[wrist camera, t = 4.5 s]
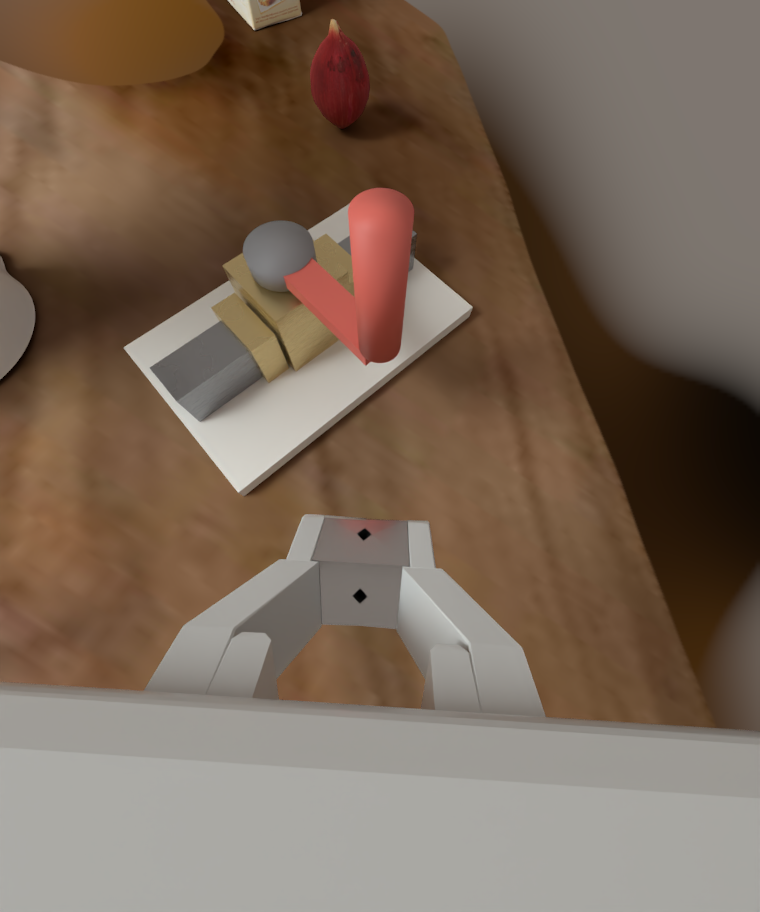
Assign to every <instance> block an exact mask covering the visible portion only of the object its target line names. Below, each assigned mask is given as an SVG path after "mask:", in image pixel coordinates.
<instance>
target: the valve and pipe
mask: <svg viewBox="0 0 760 912" xmlns="http://www.w3.org/2000/svg"><path fill="white" fill-rule="evenodd" d="M416 239H417V233H415V232H414V231H413V230H412V240H411V250H410V260H409V270H408V272H409V271H410V270H412V269H413V265H414V256H415V247H416ZM313 243H314V248H315V254H316V259H317V263H318V264H319V265H320V266H321V267H322V268H323V269H324V270H326V271H327V272H328V273H329V274H330V275H331V276H332V277H333V278H334V279H335V280H336V281H337V282H338V283H340V284H341V285H342V286H343V287H344V288H345V289H346V290H347V291H348V292H349V293H350V294H351V295H352V296H354V297H355V294H354V282H353V269H352V257H351V245H350V236H348V237H347V238H345V239H344V240H342V241H340V242H339V243H336V242H335V241H334V240H333V239H332V238H331V237H329V236H328V235H327V234H324V235H323V236H321V237H320V238H318V239H316V240H315V241H314V240H313ZM222 267H223V269H224V271H225V273H226V275H227V277H228V279H229V281H230V283H231V285H232V287H233V289H234V291H235V293H233V294H231V295H230V296H228V297H227V298H225V299H224V300H222V301H221V302H219V303H218V304H216V305H214V306H213V307H211V309H212V310H213V312H214V314H215V315H216V317H217V318H218V320H219V322H218V323H216V324H215V325H213V326H212V327H210V328H209V329H207V330H206V331H204V332H203V333H201V334H200V335H198V336H197V337H195V338H194V339H192V340H191V341H189V342H188V343H186V344H184V345H183V346H181V347H180V348H178V349H177V350H175V351H174V352H172V353H171V354H169V355H168V356H166V357H165V358H163V359H162V360H160V361H159V362H157V363H156V364H154V365H153V366H151V367H150V369H151V370H152V372H153V373H154V374H155V375H156V377H157V378H158V379H159V380H160V382H161V383H162V384H163V385H164V387H165V388H166V389H167V390H168V392H169V393H170V394H171V395H172V397H173V398H174V399H175V400H176V401H177V402H178V403H179V404H180V405H181V406H182V407H183V408H185V409H186V410H187V411H188V412H189V413H190V414H191V415H193V416H194V417H195V418H196V419H197V420H198V421H199V422H201V421H202V420H204V419H205V418H206V417H208V416H209V415H211V414H212V413H213V412H215V411H216V410H218V409H219V408H220V407H222V406H223V405H224V404H226V403H227V402H229V401H230V400H231V399H233V398H234V397H236V396H237V395H238V394H240V393H241V392H242V391H244V390H245V389H247V388H248V387H249V386H251V385H252V384H254V383H255V382H256V381H258V380H259V379H260V378H262V377H264V378H265V380H266V381H267V382H268V383H270V382H271V381H272V380H274V379H275V378H277V377H278V376H279V375H281V374H282V373H283V372H285V371H286V370H288V369H289V367H288V364H289V365H290V366H291V367H292V368H293V369H294V370H295V371H298V370H299V369H300V368H302V367H303V366H304V365H306V364H307V363H309V362H310V361H311V360H313V359H314V358H315V357H317V356H318V355H319V354H321V353H322V352H323V351H325V350H326V349H328V348H329V347H330V346H332V345H333V344H334V343H336V342H337V341H338V340H339V339H338V338H337V337H336V336H335V335H334V334H333V333H332V332H331V331H330V330H329V329H328V328H327V327H326V326H325V325H324V324H323V323H322V322H321V321H320V320H319V319H318V318H317V317H316V316H315V315H314V314H313V313H312V312H311V311H310V310H309V309H308V308H307V307H306V306H305V305H304V304H303V303H302V302H301V301H300V300H299V299H298V298H297V297H295V296H294V295H293V294H292V293H291V292H290V291H286V292H277V291H271V290H268V289H265V288H263V287H262V286H260V285H259V284H258V283H257V282H256V281H255V280H254V279H253V277H252V274H251V272H250V270H249V267H248V265H247V262H246V260H245V258H244V255H243V253H241V254H240V255H238V256H237V257H235V258H233V259H232V260H230V261H229V262H227V263H225V264H224V265H222ZM287 363H288V364H287Z"/></svg>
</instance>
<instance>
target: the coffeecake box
mask: <svg viewBox="0 0 760 912" xmlns="http://www.w3.org/2000/svg"><path fill="white" fill-rule="evenodd" d="M228 2H229V3H230V4H231V5H232V6H233V7H234V8H235V9H236V11H237V12H238V13H239V14H240V15H241V16H242V17H243V18H244V19H245V20H246V22H247V23H248V24H249V25H250V26H251V27H252V28H253V30H258V29H261V28H263V27H266V26H269V25H273V24H276V23H280V22H283V21H287V20H290V19H293V18H296V17H299V16H302V12H301V6H300V0H228Z"/></svg>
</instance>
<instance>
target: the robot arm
mask: <svg viewBox="0 0 760 912" xmlns="http://www.w3.org/2000/svg"><path fill="white" fill-rule="evenodd" d="M34 325H35V308H34V304H33V300H32V298H31V296H30V294H29V292H28V291H27V290H26V288H25V287H24V286H23V285H22V284H21V283H20V282H18V281H17V280H16V279H14V278H13V277H12V276H11V275H9V274H8V272H7V271H6V269H5V265H4V262H3V260H2V257H1V256H0V379H1V378H3V377H4V376H5V375H6V374H7V373H8V372H9V371H10V370H11V369H12V367H13V366H14V365H15V364H16V363H17V361H18V360H19V359H20V357H21V356H22V354H23V353H24V351H25V349H26V347H27V346H28V343H29V341H30V339H31V336H32V333H33V330H34ZM321 624H327V625H357V626H369V627H380V628H391V629H397V632H398V634H399V636H400V637H401V639H402V641H403V642H404V644H405V646H406V647H407V649H408V651H409V653H410V654H411V656H412V658H413V659H414V661H415V663H416V664H417V666H418V668H419V669H420V671H421V673H422V675H423V676H424V678H425V686H424V692H423V698H422V705H421V709H412V708H396V707H381V706H366V705H351V704H336V703H321V702H305V701H290V700H279V697H278V689H277V682H276V679H277V678H278V677H279V676H280V674H281V673H282V672H283V671H284V670H285V669H286V667H287V666H288V665H289V664H290V663H291V662H292V660H293V659H294V658H295V657H296V656H297V655H298V653H299V652H300V651H301V650H302V649H303V648H304V646H305V645H306V644H307V643H308V642H309V640H310V639H311V638H312V637H313V636H314V635H315V633H316V632H317V631H318V630H319V629H320V628H321ZM0 912H760V731H752V730H737V729H721V728H706V727H691V726H676V725H660V724H645V723H630V722H615V721H599V720H584V719H569V718H553V717H546V716H545V713H544V710H543V707H542V704H541V701H540V698H539V696H538V693H537V690H536V687H535V684H534V681H533V678H532V675H531V672H530V669H529V666H528V663H527V660H526V657H525V654H524V651H523V648H522V647H521V646H520V645H519V644H518V643H517V642H516V641H515V640H514V639H513V638H512V637H511V636H510V635H509V634H508V633H507V632H506V631H505V630H504V629H503V628H502V627H501V626H500V625H499V624H498V623H497V622H496V621H495V620H494V619H493V618H492V617H490V616H489V615H488V614H487V613H486V612H485V611H484V610H483V609H482V608H481V607H480V606H479V605H478V604H477V603H476V602H475V601H474V600H473V599H472V598H471V597H470V596H469V595H468V594H467V593H466V592H465V591H464V590H463V589H462V588H461V587H460V586H459V585H458V584H457V583H456V582H455V581H454V580H453V579H452V578H451V577H450V576H449V575H448V574H447V573H446V572H445V571H444V570H443V569H436V566H435V559H434V552H433V545H432V538H431V531H430V524H429V522H428V521H417V520H407V521H399V520H380V519H367V518H355V517H342V516H329V515H326V516H325V515H314V514H305V515H304V516H303V517H302V519H301V522H300V525H299V527H298V530H297V532H296V535H295V538H294V540H293V543H292V545H291V548H290V551H289V553H288V556H287V558H286V560H285V559H279V560H278V561H276V562H275V563H274V564H272V565H271V566H269V567H268V568H266V569H265V570H263V571H262V572H260V573H259V574H258V575H256V576H255V577H253V578H252V579H250V580H249V581H247V582H246V583H245V584H243V585H242V586H240V587H239V588H237V589H236V590H234V591H233V592H231V593H230V594H229V595H227V596H226V597H224V598H223V599H221V600H220V601H218V602H217V603H216V604H214V605H213V606H211V607H210V608H208V609H207V610H205V611H204V612H202V613H201V614H200V615H198V616H197V617H195V618H194V619H192V620H191V621H189V622H188V623H187V624H185V625H184V626H183V627H182V629H181V630H180V632H179V634H178V635H177V637H176V638H175V640H174V642H173V643H172V645H171V647H170V648H169V650H168V652H167V653H166V655H165V657H164V658H163V660H162V662H161V663H160V665H159V666H158V668H157V670H156V671H155V673H154V675H153V676H152V678H151V680H150V681H149V683H148V685H147V686H146V688H145V689H144V691H137V690H122V689H107V688H91V687H76V686H61V685H45V684H30V683H15V682H0Z"/></svg>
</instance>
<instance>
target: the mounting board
mask: <svg viewBox="0 0 760 912" xmlns="http://www.w3.org/2000/svg"><path fill="white" fill-rule="evenodd" d="M349 205H350V204H348V205H347V206H345V207H344V208H342V209H341V210H339V211H337V212H336V213H334V214H333V215H331V216H330V217H328V218H326V219H325V220H323V221H322V222H320V223H319V224H317V225H315V226H314V227H312V228H311V229H309V230H308V232H309V233H310V235H311V237H312V239H313V240H314V241H315V240H316V239H318V238H320V237H321V236H323V235H324V234H327V235H328V236H329V237H331V238H332V239H333V240H334V241H335V242H336V243H339V242H340V241H342V240H344V239H345V238H347V237H348V236H350V232H349V220H348V208H349ZM233 293H235V291H234V289H233V287H232V285H231V283H230V281H227V282H226V283H224V284H223V285H221V286H219V287H218V288H216V289H215V290H213V291H212V292H210V293H208V294H207V295H205V296H204V297H202V298H201V299H199V300H197V301H196V302H194V303H193V304H191V305H190V306H188V307H186V308H185V309H183V310H182V311H180V312H179V313H177V314H175V315H174V316H172V317H171V318H169V319H168V320H166V321H164V322H163V323H161V324H160V325H158V326H157V327H155V328H153V329H152V330H150V331H149V332H147V333H145V334H144V335H142V336H141V337H139V338H138V339H136V340H134V341H133V342H131V343H130V344H128V345H127V346H125V347H123V348H124V349H125V350H126V352H127V353H128V354H129V356H130V357H131V358H132V359H133V361H134V362H135V363H136V364H137V366H138V367H139V368H140V369H141V371H142V372H143V373H144V374H145V376H146V377H147V378H148V379H149V381H150V382H151V383H152V385H153V386H154V387H155V388H156V390H157V391H158V392H159V393H160V395H161V396H162V397H163V398H164V400H165V401H166V402H167V403H168V405H169V406H170V407H171V408H172V410H173V411H174V412H175V414H176V415H177V416H178V417H179V419H180V420H181V421H182V422H183V424H184V425H185V426H186V427H187V429H188V430H189V431H190V432H191V434H192V435H193V436H194V437H195V439H196V440H197V441H198V443H199V444H200V445H201V446H202V448H203V449H204V450H205V451H206V453H207V454H208V455H209V456H210V458H211V459H212V460H213V461H214V463H215V464H216V465H217V466H218V468H219V469H220V470H221V472H222V473H223V474H224V475H225V477H226V478H227V479H228V480H229V482H230V483H231V484H232V485H233V487H234V488H235V489H236V490H237V492H238V493H240V494H241V495H243V496H245V495H246V494H248V493H249V492H250V491H251V490H253V489H254V488H255V487H256V486H258V485H259V484H260V483H261V482H263V481H264V480H265V479H266V478H268V477H269V476H270V475H271V474H273V473H274V472H275V471H276V470H278V469H279V468H280V467H281V466H283V465H284V464H285V463H286V462H288V461H289V460H290V459H291V458H293V457H294V456H295V455H297V454H298V453H299V452H300V451H302V450H303V449H304V448H305V447H307V446H308V445H309V444H310V443H312V442H313V441H314V440H315V439H317V438H318V437H319V436H320V435H322V434H323V433H324V432H325V431H327V430H328V429H329V428H330V427H332V426H333V425H334V424H335V423H337V422H338V421H339V420H340V419H342V418H343V417H344V416H345V415H347V414H348V413H349V412H350V411H352V410H353V409H354V408H355V407H357V406H358V405H359V404H360V403H362V402H363V401H364V400H366V399H367V398H368V397H369V396H371V395H372V394H373V393H374V392H376V391H377V390H378V389H379V388H381V387H382V386H383V385H384V384H386V383H387V382H388V381H389V380H391V379H392V378H393V377H394V376H396V375H397V374H398V373H399V372H401V371H402V370H403V369H404V368H406V367H407V366H408V365H409V364H411V363H412V362H413V361H414V360H416V359H417V358H418V357H419V356H421V355H422V354H423V353H424V352H426V351H427V350H428V349H429V348H431V347H432V346H433V345H435V344H436V343H437V342H438V341H440V340H441V339H442V338H443V337H445V336H446V335H447V334H448V333H450V332H451V331H452V330H453V329H455V328H456V327H457V326H458V325H460V324H461V323H462V322H463V321H465V320H466V319H467V318H468V317H469V316H470V314H471V311H472V308H473V307H472V306H471V305H470V304H469V303H467V302H466V301H465V300H464V299H463V298H461V297H460V296H459V295H458V294H457V293H456V292H454V291H453V290H452V289H451V288H450V287H448V286H447V285H446V284H445V283H444V282H442V281H441V280H440V279H439V278H438V277H437V276H435V275H434V274H433V273H432V272H431V271H429V270H428V269H427V268H426V267H425V266H424V265H422V264H421V263H420V262H419V261H418V260H416V259H415V258H414V265H413V269H412V270H410V271H409V272H408V280H407V289H406V299H405V309H404V319H403V329H402V339H401V348H400V351H399V353H398V355H397V356H396V357H395V358H394V359H393V360H391V361H389V362H386V363H374V362H370V363H369V364H367V365H366V366H365V365H364V364H363V363H362V362H361V361H360V360H359V359H358V358H357V357H356V356H355V355H354V354H353V353H352V352H351V351H350V350H349V349H348V348H347V347H346V346H345V345H344V344H343V343H342V342H341V341H340V340H338V341H337V342H336V343H334V344H333V345H332V346H330V347H329V348H328V349H326V350H325V351H323V352H322V353H321V354H319V355H318V356H317V357H315V358H314V359H313V360H311V361H310V362H309V363H307V364H306V365H304V366H303V367H302V368H300V369H299V370H298V371H295V370H294V369H293V368H292V367H291V366H290V365H289V364H288V363H287V364H288V367H289V369H288V370H286V371H285V372H283V373H282V374H281V375H279V376H278V377H277V378H275V379H274V380H272V381H271V382H270V383H268V382H267V381H266V380H265V378H264V377H262V378H260V379H259V380H258V381H256V382H255V383H254V384H252V385H251V386H249V387H248V388H247V389H245V390H244V391H242V392H241V393H240V394H238V395H237V396H236V397H234V398H233V399H231V400H230V401H229V402H227V403H226V404H224V405H223V406H222V407H220V408H219V409H218V410H216V411H215V412H213V413H212V414H211V415H209V416H208V417H206V418H205V419H204V420H202V421H201V422H199V421H198V420H197V419H196V418H195V417H194V416H193V415H191V414H190V413H189V412H188V411H187V410H186V409H185V408H183V407H182V406H181V405H180V404H179V403H178V402H177V401H176V400H175V399H174V398H173V397H172V395H171V394H170V393H169V392H168V390H167V389H166V388H165V387H164V385H163V384H162V383H161V382H160V380H159V379H158V378H157V377H156V375H155V374H154V373H153V372H152V370H151V369H150V367H151V366H153V365H154V364H156V363H157V362H159V361H160V360H162V359H163V358H165V357H166V356H168V355H169V354H171V353H172V352H174V351H175V350H177V349H178V348H180V347H181V346H183V345H184V344H186V343H188V342H189V341H191V340H192V339H194V338H195V337H197V336H198V335H200V334H201V333H203V332H204V331H206V330H207V329H209V328H210V327H212V326H213V325H215V324H216V323H218V322H219V320H218V318H217V317H216V315H215V314H214V312H213V310H212V309H211V307H213V306H214V305H216V304H218V303H219V302H221V301H222V300H224V299H225V298H227V297H228V296H230V295H231V294H233Z"/></svg>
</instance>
